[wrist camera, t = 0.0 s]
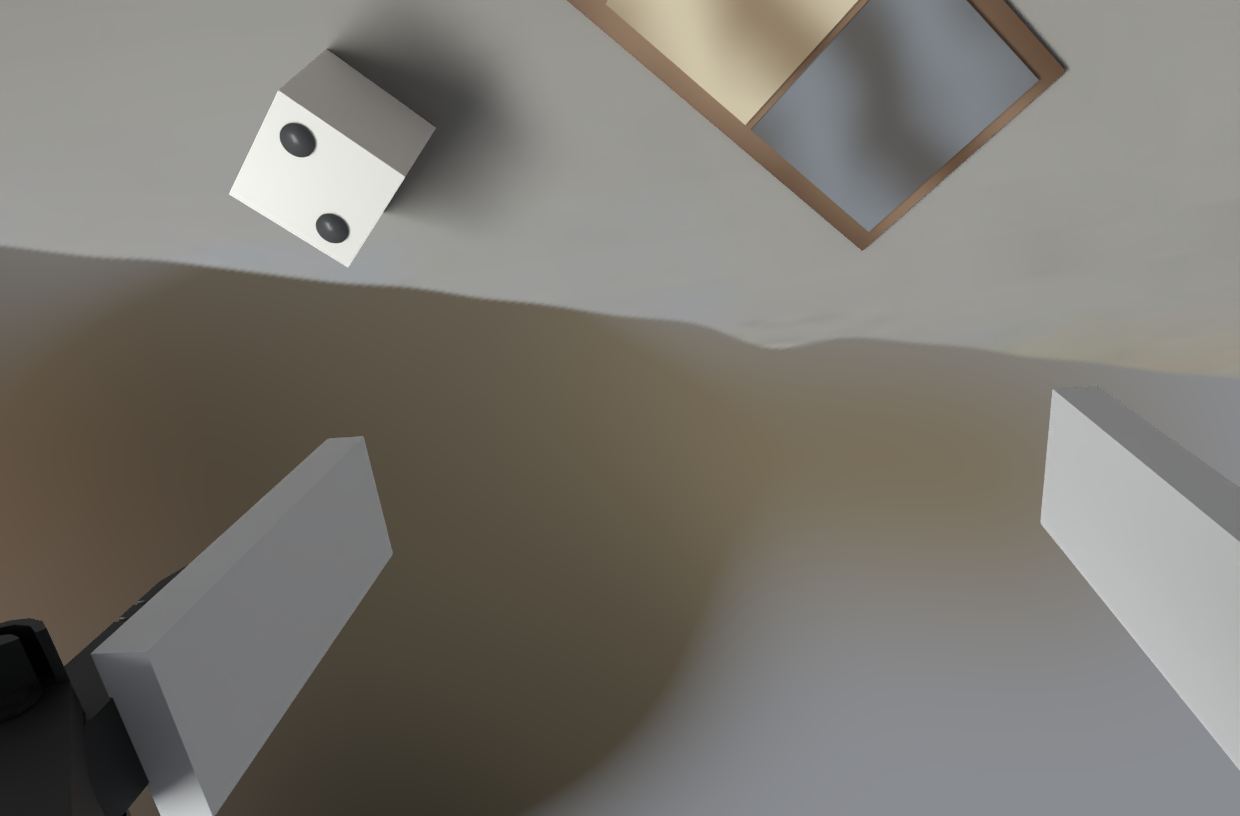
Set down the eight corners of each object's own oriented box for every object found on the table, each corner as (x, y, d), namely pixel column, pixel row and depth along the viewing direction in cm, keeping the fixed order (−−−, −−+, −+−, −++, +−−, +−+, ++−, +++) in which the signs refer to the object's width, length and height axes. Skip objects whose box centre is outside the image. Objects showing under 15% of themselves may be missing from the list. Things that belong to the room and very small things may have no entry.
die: (327, 48, 37) (277, 91, 33) (436, 127, 39) (404, 177, 35) (279, 143, 40) (228, 195, 36) (383, 212, 43) (347, 268, 38)
